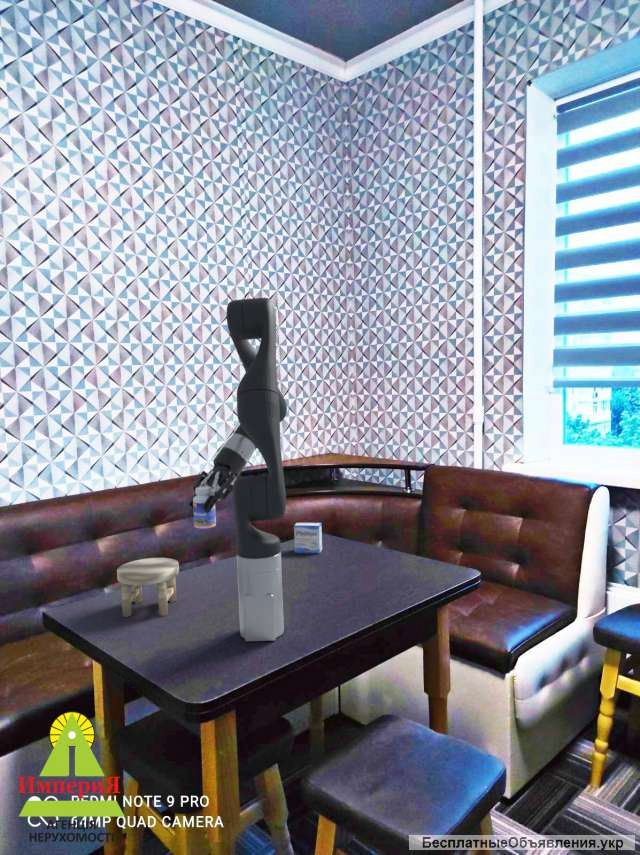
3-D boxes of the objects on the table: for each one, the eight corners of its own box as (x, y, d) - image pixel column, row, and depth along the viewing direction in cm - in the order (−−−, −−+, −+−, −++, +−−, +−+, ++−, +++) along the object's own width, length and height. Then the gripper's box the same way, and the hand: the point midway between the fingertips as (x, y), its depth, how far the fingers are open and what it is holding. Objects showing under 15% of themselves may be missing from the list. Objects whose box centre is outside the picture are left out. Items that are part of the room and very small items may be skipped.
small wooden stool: (172, 618, 136) (170, 575, 136) (110, 620, 136) (108, 577, 135) (186, 596, 150) (184, 556, 149) (130, 597, 150) (127, 558, 149)
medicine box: (294, 553, 184) (293, 525, 183) (297, 549, 188) (296, 521, 187) (320, 553, 182) (319, 525, 182) (322, 549, 187) (321, 522, 186)
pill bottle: (189, 527, 149) (187, 489, 149) (203, 522, 154) (201, 485, 153) (207, 529, 147) (204, 490, 146) (220, 524, 152) (218, 486, 151)
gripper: (209, 444, 159) (172, 497, 152) (243, 447, 149) (204, 503, 142) (227, 462, 163) (191, 513, 156) (260, 466, 153) (224, 521, 146)
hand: (198, 508), depth 149 cm, fingers closed on pill bottle, 5 cm apart
